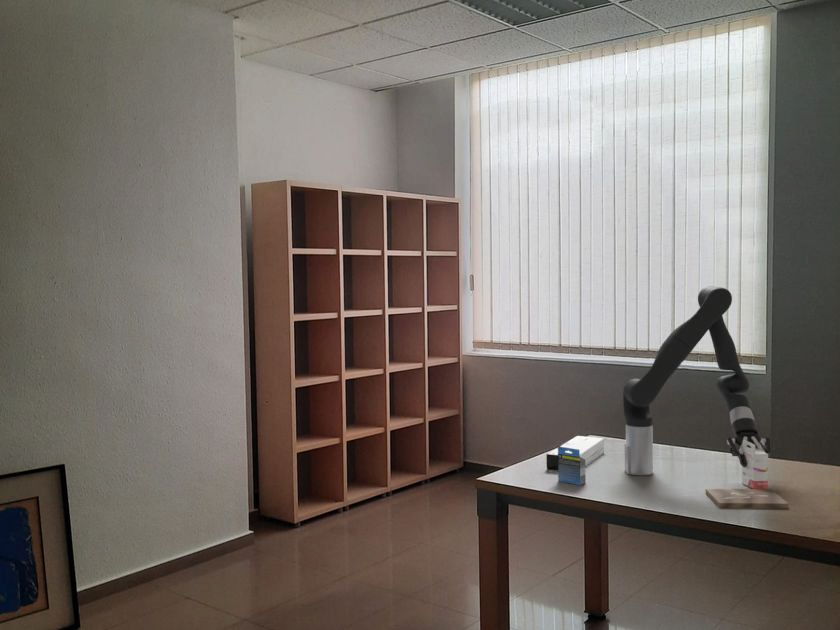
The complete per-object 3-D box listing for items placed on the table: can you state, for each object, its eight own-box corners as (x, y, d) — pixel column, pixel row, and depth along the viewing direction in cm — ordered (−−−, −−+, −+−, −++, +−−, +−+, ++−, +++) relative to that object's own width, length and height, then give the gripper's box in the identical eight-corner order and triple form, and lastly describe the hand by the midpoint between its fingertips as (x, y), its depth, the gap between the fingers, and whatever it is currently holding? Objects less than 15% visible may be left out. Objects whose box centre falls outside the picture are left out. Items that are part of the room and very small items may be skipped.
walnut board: (719, 508, 231) (719, 502, 231) (705, 493, 246) (705, 488, 246) (788, 508, 229) (788, 503, 229) (770, 493, 244) (770, 488, 244)
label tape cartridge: (586, 483, 261) (585, 447, 260) (580, 486, 258) (579, 449, 257) (563, 479, 267) (563, 444, 266) (557, 481, 264) (557, 446, 263)
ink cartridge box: (768, 489, 249) (769, 444, 248) (753, 490, 248) (754, 445, 248) (755, 482, 257) (755, 438, 256) (740, 482, 257) (741, 439, 256)
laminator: (576, 450, 309) (576, 435, 309) (606, 453, 303) (606, 438, 303) (546, 470, 280) (546, 454, 279) (579, 474, 274) (579, 457, 273)
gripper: (723, 416, 261) (734, 460, 250) (767, 416, 260) (780, 460, 249) (719, 429, 267) (729, 472, 256) (762, 429, 265) (774, 472, 254)
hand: (754, 466), depth 252 cm, fingers closed on ink cartridge box, 5 cm apart
